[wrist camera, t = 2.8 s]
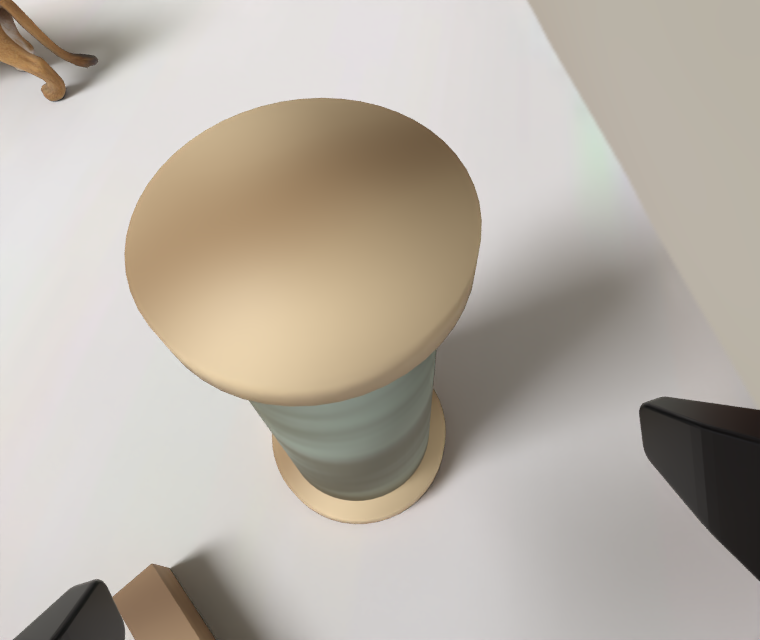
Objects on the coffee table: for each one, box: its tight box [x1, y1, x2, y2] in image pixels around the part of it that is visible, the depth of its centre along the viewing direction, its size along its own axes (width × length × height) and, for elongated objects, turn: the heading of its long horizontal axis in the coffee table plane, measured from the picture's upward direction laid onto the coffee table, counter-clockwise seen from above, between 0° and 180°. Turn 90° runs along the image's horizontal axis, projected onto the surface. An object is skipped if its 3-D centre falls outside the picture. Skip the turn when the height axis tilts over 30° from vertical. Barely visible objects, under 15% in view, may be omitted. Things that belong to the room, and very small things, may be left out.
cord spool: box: [125, 98, 482, 524], centre depth 16 cm, size 6×6×13 cm
